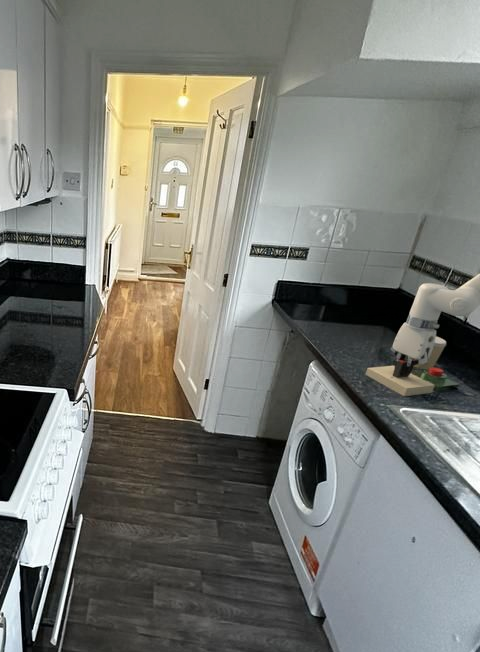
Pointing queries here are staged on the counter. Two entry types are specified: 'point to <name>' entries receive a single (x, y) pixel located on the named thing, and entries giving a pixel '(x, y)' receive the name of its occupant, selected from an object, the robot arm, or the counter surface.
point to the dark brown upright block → (399, 368)
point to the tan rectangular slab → (400, 381)
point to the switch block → (436, 380)
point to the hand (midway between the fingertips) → (401, 373)
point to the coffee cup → (433, 354)
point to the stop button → (436, 371)
